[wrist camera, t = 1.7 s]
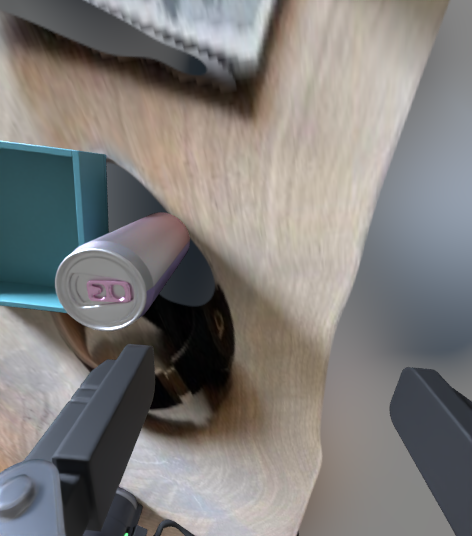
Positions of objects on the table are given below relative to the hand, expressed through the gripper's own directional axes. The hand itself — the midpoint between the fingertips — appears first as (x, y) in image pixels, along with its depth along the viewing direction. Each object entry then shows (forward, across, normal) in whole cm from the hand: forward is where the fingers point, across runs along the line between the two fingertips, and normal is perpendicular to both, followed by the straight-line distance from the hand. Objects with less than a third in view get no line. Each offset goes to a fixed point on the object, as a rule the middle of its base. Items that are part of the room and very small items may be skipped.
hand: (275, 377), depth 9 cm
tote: (+23, -25, -2) cm, 34 cm away
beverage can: (+23, -10, -2) cm, 25 cm away
